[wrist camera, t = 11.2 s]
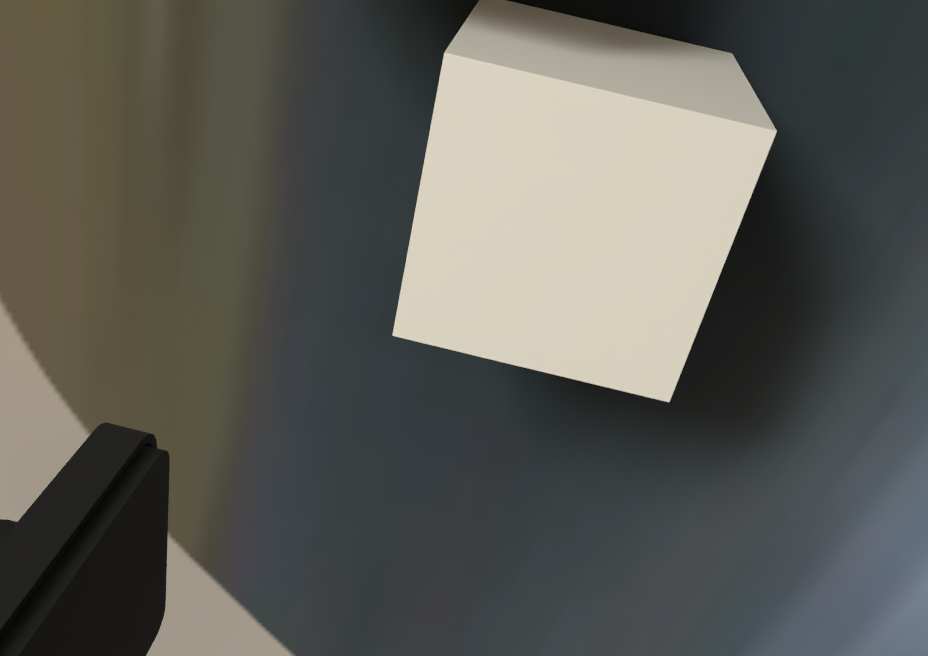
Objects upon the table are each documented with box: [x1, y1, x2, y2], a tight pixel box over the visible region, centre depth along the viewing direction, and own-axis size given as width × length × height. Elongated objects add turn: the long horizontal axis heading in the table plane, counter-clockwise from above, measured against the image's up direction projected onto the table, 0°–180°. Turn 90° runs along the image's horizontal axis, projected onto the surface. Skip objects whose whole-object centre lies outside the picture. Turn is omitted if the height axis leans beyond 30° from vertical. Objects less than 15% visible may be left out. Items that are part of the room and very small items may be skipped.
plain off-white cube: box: [392, 0, 777, 402], centre depth 23 cm, size 7×7×7 cm
